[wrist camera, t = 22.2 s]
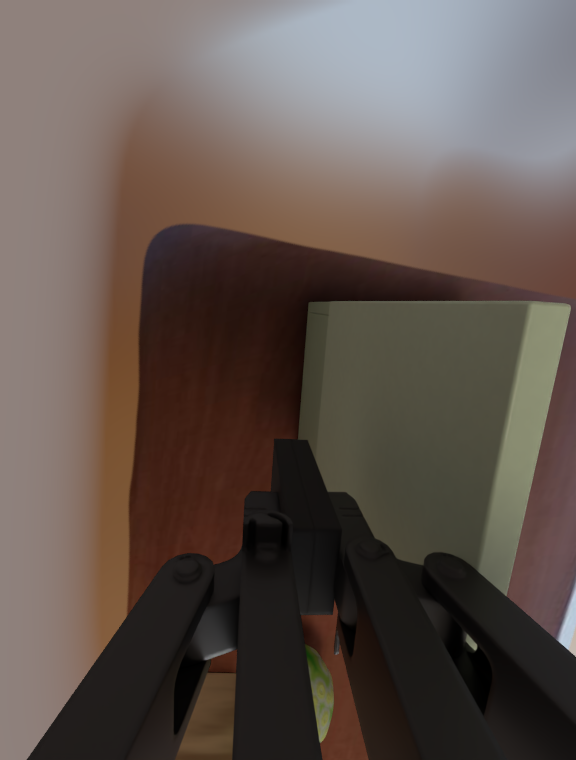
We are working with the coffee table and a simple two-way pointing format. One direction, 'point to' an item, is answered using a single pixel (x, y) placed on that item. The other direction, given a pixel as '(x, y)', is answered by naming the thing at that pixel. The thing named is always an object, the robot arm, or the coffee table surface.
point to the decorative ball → (320, 690)
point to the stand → (211, 721)
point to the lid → (439, 421)
